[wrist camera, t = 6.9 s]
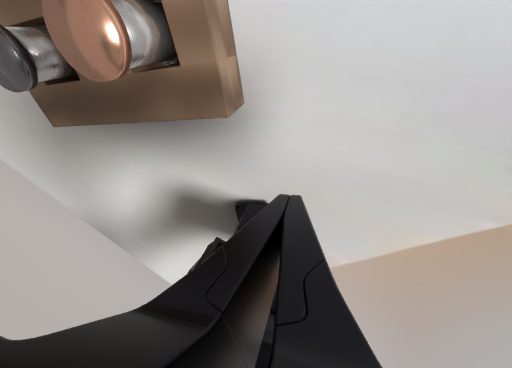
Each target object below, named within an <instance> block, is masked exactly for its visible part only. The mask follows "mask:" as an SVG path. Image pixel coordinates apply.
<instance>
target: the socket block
mask: <svg viewBox="0 0 512 368" xmlns="http://www.w3.org/2000/svg"><path fill="white" fill-rule="evenodd" d="M145 1H152V2H153V1H157V0H145ZM161 1H162V4H163V8H164V11H165V14H166V18H167V21H168V25H169V28H170V31H171V35H172V38H173V42H174V45H175V48H176V52H177V55H178V59H179V62H180V64H173V65H166V66H164V65H163V62H159V63H154V64H149V65H144V66H139V67H134V68H129V70H128V72H127V73H126V74H125V75H124V76H123V77H121V78H119V79H115V80H111V81H107V82H96V81H93V80H90V79H88V78H86V77H84V76H83V75H81V74H80V73H79V72H77V71H76V70H75V71H76V73H77V74H78V75H74V76H69V77H63V78H58V79H53V80H47V81H42V82H38V84H37V86H36V87H35V88H34V89H32V90H29V92H30V93H31V95H32V96H33V98H34V99H35V101H36V102H37V104H38V105H39V107H40V108H41V109H42V111H43V112H44V114H45V115H46V117H47V118H48V120H49V121H50V123H51V124H52V126H53V127H64V126H82V125H100V124H118V123H136V122H154V121H173V120H191V119H209V118H227V117H229V116H230V115H231V114H233V113H234V112H235V111H236V110H237V109H238V108H239V107H241V106H242V105H243V104H244V98H243V92H242V85H241V79H240V73H239V67H238V61H237V55H236V48H235V42H234V36H233V30H232V24H231V18H230V11H229V5H228V0H161ZM0 24H1V25H2V26H4V27H46V24H45V20H44V17H43V11H42V0H0Z"/></svg>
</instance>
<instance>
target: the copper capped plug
mask: <svg viewBox="0 0 512 368" xmlns="http://www.w3.org/2000/svg"><path fill="white" fill-rule="evenodd" d="M42 11H43V17H44V20H45V24H46V27H47V29H48V32H49V34H50V36H51V38H52V40H53V42H54V44H55V46H56V47H57V49H58V50H59V52H60V53H61V55H62V56H63V57H64V59H65V60H66V61H67V62H68V63H69V64H70V65H71V66H72V67H73V68H74V69H75V70H76V71H77V72H79V73H80V74H81V75H83V76H84V77H86V78H88V79H90V80H93V81H96V82H107V81H111V80H115V79H119V78H121V77H123V76H124V75H125V74H126V73H127V72H128V70H129V68H134V67H139V66H144V65H149V64H154V63H159V62H164V61H169V60H173V59H175V58H177V57H178V55H177V52H176V48H175V45H174V42H173V38H172V35H171V31H170V28H169V25H168V21H167V18H166V14H165V11H164V8H163V4H162V3H159V2H152V1H145V0H42Z"/></svg>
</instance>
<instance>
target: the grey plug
mask: <svg viewBox="0 0 512 368" xmlns="http://www.w3.org/2000/svg"><path fill="white" fill-rule="evenodd" d="M74 75H78V74H77V73H76V71H75V69H74V68H73V67H72V66H71V65H70V64H69V63H68V62H67V61H66V60H65V59H64V57H63V56H62V55H61V53H60V52H59V50H58V49H57V47H56V46H55V44H54V42H53V40H52V38H51V36H50V34H49V32H48V29H47V27H4V26H2V25H1V24H0V85H1V86H3V87H4V88H6V89H8V90H10V91H13V92H23V91H27V90H32V89H34V88H35V87H36V86H37V84H38V82H42V81H47V80H53V79H58V78H63V77H69V76H74Z"/></svg>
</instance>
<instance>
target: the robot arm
mask: <svg viewBox="0 0 512 368" xmlns="http://www.w3.org/2000/svg"><path fill="white" fill-rule="evenodd" d="M239 206H240V207H239ZM235 210H236V214H237V218H238V222H239V223H238V225H237V228H236V230H235V233H234V235H233V236H232V237H231V238H230V239H229V240H228V241H227V242H226V241H223V240H221V238H218V237H216V239H215V240H214V241H213V242H211V244H209V245H208V246H207V248H206V250H205V252H204V253H203V255H202V257H201V258H200V259H199V260H198V261H197V262H196V263H195V265H194V266H193V267H192V268H191V269H190V270H189V272H188V274H187V275H185V276H184V277H183V278H181V279H180V280H179V281H177V282H176V283H175V284H173V285H172V286H171V287H169V288H168V289H167V290H165V291H164V292H162V293H161V294H160V295H158V296H157V297H156V298H154V299H153V300H151V301H150V302H148V303H147V304H145V305H143V306H141V307H139V308H137V309H134V310H132V311H129V312H125V313H122V314H118V315H115V316H112V317H108V318H104V319H101V320H97V321H94V322H90V323H87V324H83V325H80V326H77V327H72V328H69V329H65V330H62V331H58V332H55V333H51V334H48V335H44V336H40V337H36V338H30V339H24V340H9V339H7V338H4V337H2V336H0V368H382V366H381V365H380V363H379V362H378V360H377V358H376V356H375V355H374V353H373V351H372V350H371V348H370V346H369V344H368V342H367V340H366V339H365V337H364V335H363V333H362V331H361V330H360V328H359V326H358V324H357V322H356V321H355V319H354V317H353V315H352V313H351V312H350V310H349V308H348V306H347V304H346V303H345V301H344V299H343V297H342V295H341V293H340V291H339V289H338V287H337V285H336V282H335V280H334V278H333V276H332V273H331V271H330V268H329V266H328V263H327V261H326V259H325V256H324V253H323V251H322V248H321V246H320V243H319V241H318V238H317V236H316V233H315V230H314V228H313V225H312V223H311V220H310V218H309V215H308V213H307V210H306V207H305V205H304V202H303V200H302V197H301V196H300V195H291V196H290V195H286V194H280V195H278V196H277V197H276V198H275V199H274V200H273V201H271V202H270V203H269V204H254V203H241V202H238V203H236V205H235Z"/></svg>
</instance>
